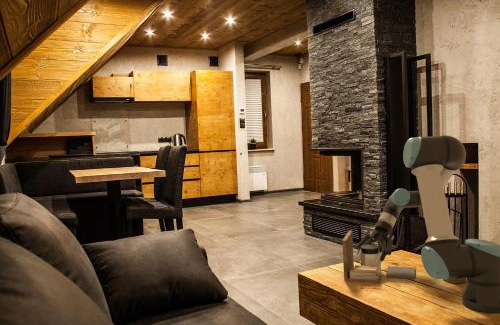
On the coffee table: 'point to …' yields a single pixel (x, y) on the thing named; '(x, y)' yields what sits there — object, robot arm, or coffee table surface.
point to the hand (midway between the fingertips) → (366, 264)
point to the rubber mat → (400, 272)
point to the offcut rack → (358, 271)
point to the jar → (369, 255)
